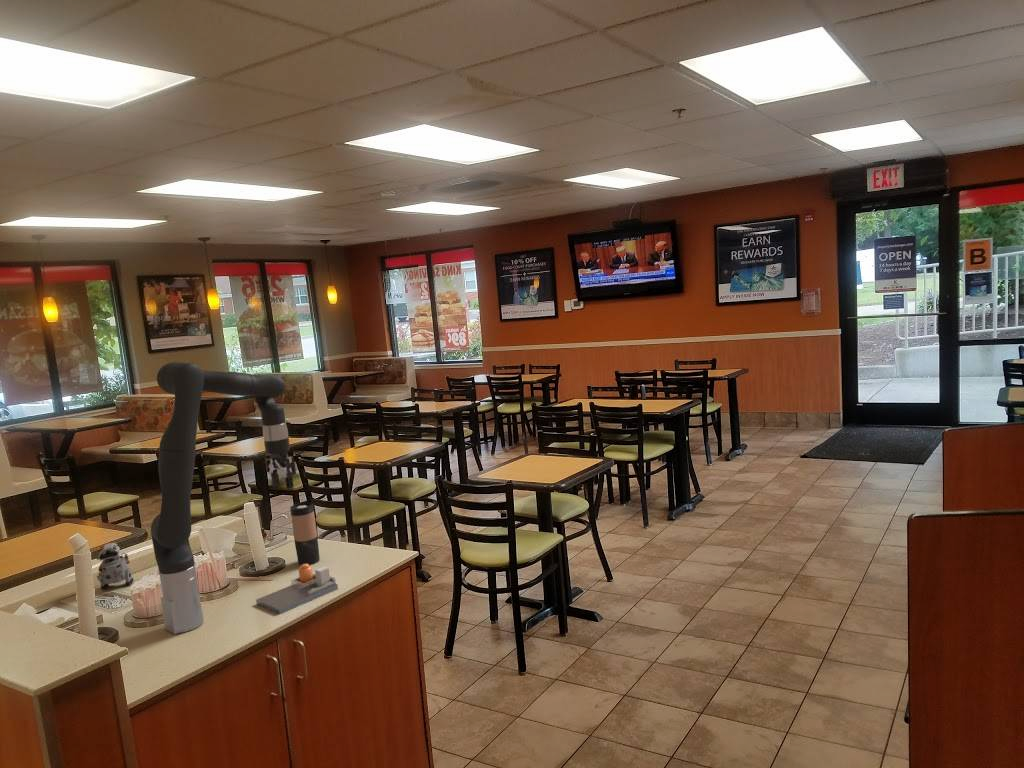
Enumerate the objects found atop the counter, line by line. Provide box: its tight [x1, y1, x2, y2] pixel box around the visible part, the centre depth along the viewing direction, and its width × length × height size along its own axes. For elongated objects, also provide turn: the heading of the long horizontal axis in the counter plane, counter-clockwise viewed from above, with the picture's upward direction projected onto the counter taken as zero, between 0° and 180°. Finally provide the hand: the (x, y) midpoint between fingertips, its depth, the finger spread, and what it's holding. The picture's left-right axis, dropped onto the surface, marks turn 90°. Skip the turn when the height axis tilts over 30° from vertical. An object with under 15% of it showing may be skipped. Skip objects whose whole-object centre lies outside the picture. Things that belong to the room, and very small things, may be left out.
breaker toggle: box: [314, 566, 331, 586], centre depth 221 cm, size 3×3×5 cm
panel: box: [255, 573, 339, 615], centre depth 218 cm, size 20×13×3 cm, turn 138°
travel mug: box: [289, 501, 321, 566], centre depth 247 cm, size 8×8×20 cm
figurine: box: [96, 542, 135, 591], centre depth 239 cm, size 9×12×15 cm
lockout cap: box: [298, 564, 314, 583], centre depth 224 cm, size 4×4×6 cm
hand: (283, 486), depth 232 cm, fingers open, 8 cm apart
